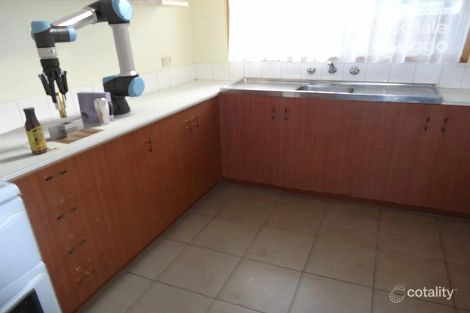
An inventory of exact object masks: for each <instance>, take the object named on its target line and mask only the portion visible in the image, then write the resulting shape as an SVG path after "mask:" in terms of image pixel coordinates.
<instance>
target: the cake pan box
mask: <svg viewBox="0 0 470 313" xmlns="http://www.w3.org/2000/svg"><path fill="white" fill-rule="evenodd" d="M76 96H77V100H78V102H77V103H78V107H79V113H80V119H82V121H83V124H86V123H92V122H93V123H100V121H99V118H98V115H97V113H96V110H95V105H94V99H98V98H107V101H108V105H109V118H110V122H111V123H115V117H114V116H115V115H113V114H114V106H113V104H112V102H111V97H110V92H104V91H81V92H80V91H79V92H77V93H76Z"/></svg>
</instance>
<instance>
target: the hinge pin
mask: <svg viewBox="0 0 470 313" xmlns="http://www.w3.org/2000/svg"><path fill="white" fill-rule="evenodd" d="M55 92H56V96H58V99H59V103H60V106H61V110H58V113H59V117H60V118H61V119H66V118H68V115H67V112H66V108H65V107H64V103H63V99H62V94H61V92H59V91H58V92H57V91H55Z"/></svg>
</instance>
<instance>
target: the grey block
mask: <svg viewBox="0 0 470 313" xmlns="http://www.w3.org/2000/svg"><path fill="white" fill-rule="evenodd" d="M59 125H61V129H64V130H66V129H69V128H72V127H75V126H77V130H74V131H71V132H68V133H63V137H67V138H68V137H71V136H73V135H76V134H79V133H78V131H80V130H83V129H84V128H85V126H84V123H83V121H82V118H78V119H74V120H70V121H69V120H66V121H62V122H59V123H56V124H55V127H56V126H59Z"/></svg>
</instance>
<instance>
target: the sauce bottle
mask: <svg viewBox="0 0 470 313" xmlns="http://www.w3.org/2000/svg"><path fill="white" fill-rule="evenodd" d="M22 111H23V113H24V116H25V122H24V128H25V133H26V136H27V139H28V144H29V148H30V150H31V154H33V155H41V154H45V153H47V152H48V150H49V149H48V144H47V141H46V140H47V139H46V138H45V134H44V130H43V125H42V124H41V122H39V120H38V118H37V115H36V112H35V111H36V110H35V108H34V107H32V106H30V107H29V106H28V107H24V108H22Z"/></svg>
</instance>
